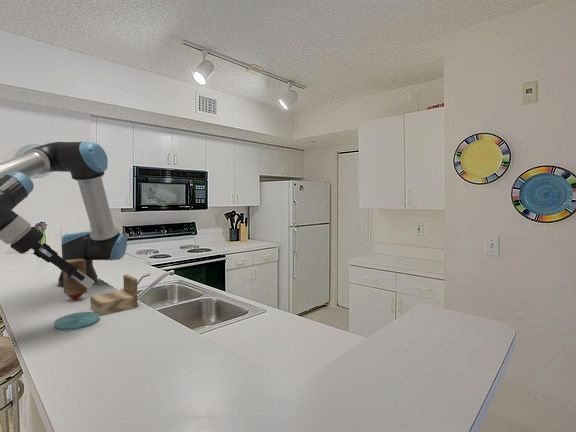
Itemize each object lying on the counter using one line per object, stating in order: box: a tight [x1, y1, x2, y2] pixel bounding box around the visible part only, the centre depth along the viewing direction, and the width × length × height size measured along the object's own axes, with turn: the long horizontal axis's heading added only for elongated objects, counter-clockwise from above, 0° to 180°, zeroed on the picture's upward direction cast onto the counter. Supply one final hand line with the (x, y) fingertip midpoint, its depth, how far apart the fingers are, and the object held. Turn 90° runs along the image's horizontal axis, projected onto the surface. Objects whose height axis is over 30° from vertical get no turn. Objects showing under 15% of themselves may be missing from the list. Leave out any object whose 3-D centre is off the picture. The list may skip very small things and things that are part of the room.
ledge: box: [90, 274, 139, 316], centre depth 117 cm, size 12×11×10 cm
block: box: [63, 258, 88, 297], centre depth 102 cm, size 5×5×10 cm
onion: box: [67, 293, 84, 301], centre depth 126 cm, size 6×6×8 cm
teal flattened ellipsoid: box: [53, 311, 101, 331], centre depth 103 cm, size 12×12×1 cm
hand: (88, 283), depth 104 cm, fingers closed on block, 5 cm apart
